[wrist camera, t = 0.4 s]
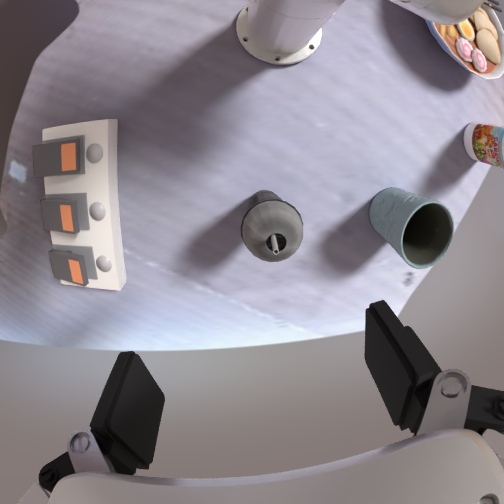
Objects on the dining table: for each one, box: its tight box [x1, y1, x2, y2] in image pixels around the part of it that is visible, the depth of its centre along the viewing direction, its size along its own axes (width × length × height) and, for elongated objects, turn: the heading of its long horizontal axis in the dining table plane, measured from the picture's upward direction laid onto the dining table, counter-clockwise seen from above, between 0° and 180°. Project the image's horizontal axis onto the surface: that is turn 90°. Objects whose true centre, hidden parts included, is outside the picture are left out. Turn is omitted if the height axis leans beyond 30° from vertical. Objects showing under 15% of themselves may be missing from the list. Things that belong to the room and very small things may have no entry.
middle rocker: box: [40, 198, 80, 234], centre depth 37 cm, size 5×8×2 cm, turn 86°
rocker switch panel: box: [42, 119, 127, 291], centre depth 40 cm, size 28×13×4 cm, turn 176°
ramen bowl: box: [425, 0, 504, 80], centre depth 25 cm, size 25×23×8 cm
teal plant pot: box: [369, 187, 454, 269], centre depth 39 cm, size 10×10×12 cm
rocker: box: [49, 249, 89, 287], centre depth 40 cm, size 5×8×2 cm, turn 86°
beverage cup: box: [241, 190, 303, 262], centre depth 34 cm, size 7×7×20 cm
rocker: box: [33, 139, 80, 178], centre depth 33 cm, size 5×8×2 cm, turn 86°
